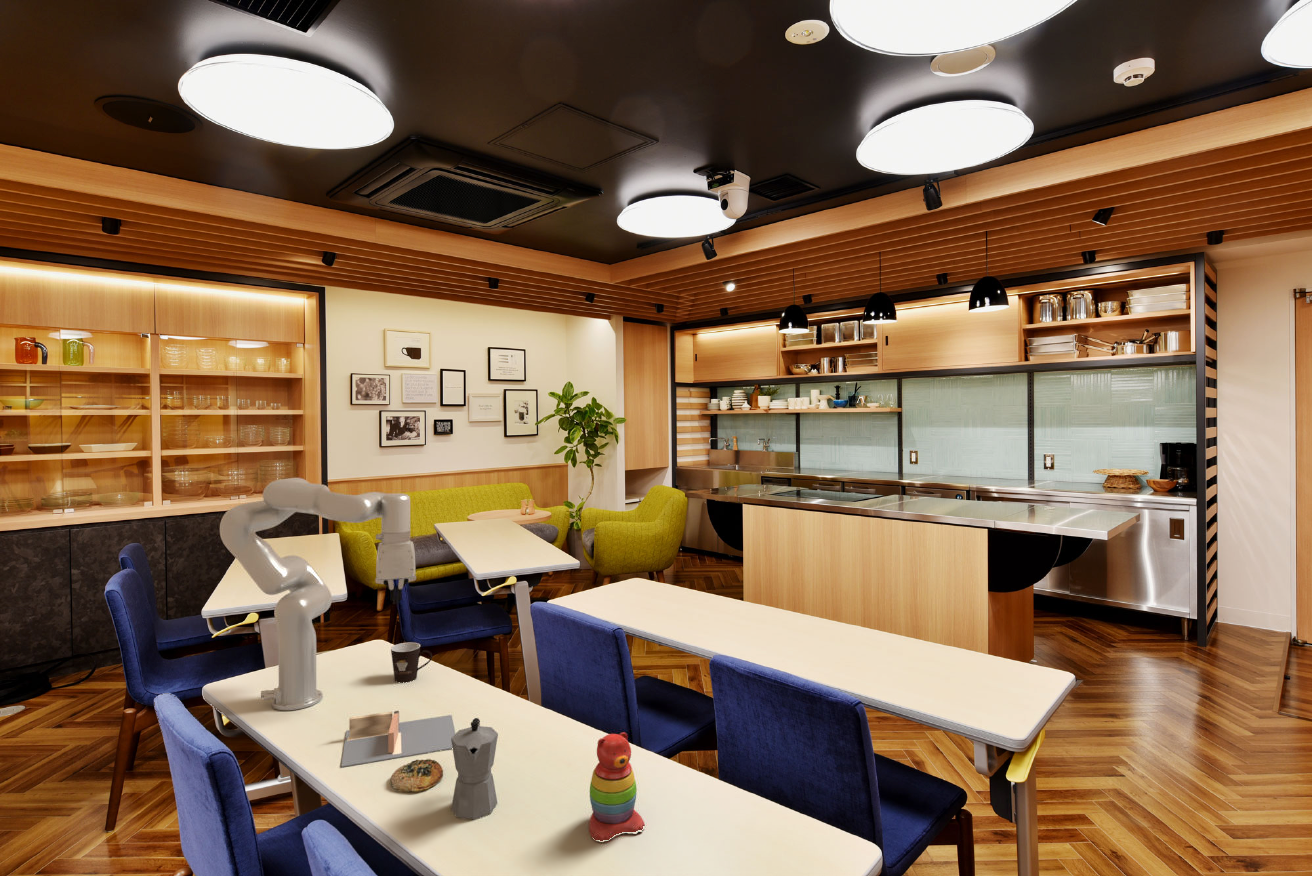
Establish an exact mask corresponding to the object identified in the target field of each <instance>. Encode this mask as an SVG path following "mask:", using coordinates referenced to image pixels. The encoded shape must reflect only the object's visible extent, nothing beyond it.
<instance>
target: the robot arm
mask: <svg viewBox="0 0 1312 876" xmlns="http://www.w3.org/2000/svg"><path fill="white" fill-rule="evenodd" d="M262 498H263V499H262V500H258V501H254V502H253V501H252V502H246V503H241V504H238V505H235V506H233V507H231V508H230V509H228V510H227V511H226V512H225V513H224V514H223V516H222V518H221V521H220V523H219V535H220V539H221V541H222V544H223V545H224V546H225V547H226V549H227V550H228V551H229V553H231V554H232V556H234V558H235V559H237V561H238V562H239V563H240V565H241V566H242V567H243V569H244V570H245V572H247V574H248V576H250V578H251V579H252V581H254V583H255V584H256V585H257V587H258V588H259V589H260V590H261V592H263V593H264V594H266V595H269V596H275V595H279V594H281V593H284V592H286V591H289V593H287V594H285V595H283V596H282V597H281V598H280V599H279V600H278V602H277V603H276V604H275V607H274V610H273V611H274V613H273V614H274V620H275V625H276V631H277V647H278V648H277V651H278V654H277V655H278V657H277V658H278V686H277V687H275V688H273V689H271V690H269V689H267V690H261V691H260V698H261V699H263V700H264V701H267V700H272V699H273V700H272V702H271V703H272V705H271V706H272V708H274V709H276V710H278V711H295V710H301V709H305V708H309V707H312V706H313V705H316V704H317V703H319V702H321V700H322V699H323V697H324V695H323V692H322V691H321V690H319V689H317V634H316V630H315V628H314V625H313V621H312V620H314V619H315V618H318V617H319V616H321V615H323V614H324V613H326V612H327V611H328V610H329V608H331V605H332V601H333V597H332V593H331V591H330V588H329V587H328V586H327V585H326V583H325V582H324V580H323V579H322V578H321V577H320V576H319V574H318V572H316V570H315V569H314V568H313V566H312V565H311V564H310V563H309V562H308V561H307V560H306V559H304V558H303V557H301V556H299V555H294V554H293V555H286V556H283V557H281V556H280V555H278V553H277V552H276V551H275V549H274V548H273V547H272V546H271V544H270V543H269V542H267V541H266V540H265V539H264V538H262V537H260V536H258V535H257V533H256V532H261V531H265V530H268V529H269V530H270V529H272V528H274V527H276V526H278V525H280V524H281V523H283V522H284V521H285V520H287V519H288V518H289V517H291V516H292V515H294V514H295V513H302V514H310V515H317V516H319V517H321V518H324V519H327V520H330V521H337V522H346V523H353V524H354V523H356V524H357V523H359V524H360V523H364V522H368V521H370V520H374V519H377V518H381V532H380V533H379V534H376V535H375V540H379V541H381V542H379V543H378V546H377V552H376V567H375V570H376V571H375V572H376V574H375V575H376V577H375V583H376V584H379V585H384V586H386V587H387V588H388V589H389V590H390V591H389V592H390V595H389V597H390V600H389V601H392V605H395V604H397V605H398V604H399V605H400V601H402V599H403V598H402V596H403V595H402V594H403V593H402V591H403V590H402V589H404V587H405V586H406V585H407V584H409V583H410V582H414V581H416V580H417V576H416V553H415V544H414V542H413V541H411V497H410V496H409V495H408V494H406V493H398V492H397V493H395V492H394V493H387V492H386V493H385V492H381V491H380V492H379V491H372V492H371V491H370V492H365V493H361V494H360V493H359V494H356V495H355V494H347V493H346V494H345V493H338V492H333V491H330V488H329V487H328V486H327V485H325V484H320V483H313V482H312V483H311V482H309V481H308V480H307V479H304V478H302V477H291V478H282V479H277V480H273V481H271V482H269V483H268V484H267V485H266V486H265V488H264V489H263V492H262ZM394 580H398V583H397V585H394V584H395V583H394Z"/></svg>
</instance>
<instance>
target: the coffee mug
mask: <svg viewBox="0 0 1312 876" xmlns="http://www.w3.org/2000/svg"><path fill="white" fill-rule="evenodd" d="M390 652H391V654H390V655H391V663H392V670H393V676H394V682H395V681H397V682H396V683H398V682H400V683H399V684H405V683H406V682H407V683H411V682H414V681H415V680H416V679H417V678H418V677H417V676H418V671H420V670H421V669H422V668H424V667H425V666H427V665H428V664H429V663H430V662H431V661H432V659H433V654H432V652H431V651H429V650H422V651H421V644H420V643H418V642H403V643H402V642H401V643H398V644H394V645H393V646H391V647H390ZM424 653H426V654H429V656H430V657H429V659H428V661H427V662H425V663H424V664H422V665H420V666H419V662H420V661H419V660H420V657H421V656H422V655H423V654H424ZM413 680H414V681H413ZM410 681H411V682H410ZM403 682H404V683H403ZM407 683H406V684H407Z"/></svg>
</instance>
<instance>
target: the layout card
mask: <svg viewBox="0 0 1312 876" xmlns="http://www.w3.org/2000/svg"><path fill="white" fill-rule="evenodd" d="M455 734H456V730H455V724H454V721H453V715H452V714H449V715H442V716H435V717H429V718H424V719H423V718H422V719H416V720H408V721H403V722H402V721H401V722H399V732H398V737H397V741H396V745H395V749H394V752H393V753H388V734H383V735H376V736H370V737H363V738H357V739H350V740H349V730H346V732H345V738H344V739H345V740H344V744H343V745H344V746H343V752H342V761H341V767H340V768H348V767H353V766H359V765H366V764H372V763H378V762H384V761H388V760H389V761H390V760H395V759H401V758H407V757H411V756H418V755H419V754H420V755H424V754H429V753H428V752H432V753H436V752H435V751H438V752H441V751H440V750H443V751H450V750H453V749H452V741H451V738H452V737H453V736H454V735H455Z"/></svg>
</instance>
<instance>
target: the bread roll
mask: <svg viewBox="0 0 1312 876" xmlns="http://www.w3.org/2000/svg"><path fill="white" fill-rule="evenodd" d="M443 777H444V770H443V767H442V765H441V763H440V762H438V761H436V760H435V759H430V758H426V759H415V760H412V761H411V762H408V763H406V764H403V765H402V766H400V767H398V768H397V769H396V770H395V771H394V772H393V773H392V775H391V776H390V779H391V786H392V787H393V788H394V789H395V790H398V791H399V792H403V793H405V792H406V793H409V792H415V793H419V792H420V793H421V792H424V791H428V790H430V789H432V788H434V787H436V785H437V784H438V783H439V782H441V781H442V779H443ZM440 780H441V781H440Z"/></svg>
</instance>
